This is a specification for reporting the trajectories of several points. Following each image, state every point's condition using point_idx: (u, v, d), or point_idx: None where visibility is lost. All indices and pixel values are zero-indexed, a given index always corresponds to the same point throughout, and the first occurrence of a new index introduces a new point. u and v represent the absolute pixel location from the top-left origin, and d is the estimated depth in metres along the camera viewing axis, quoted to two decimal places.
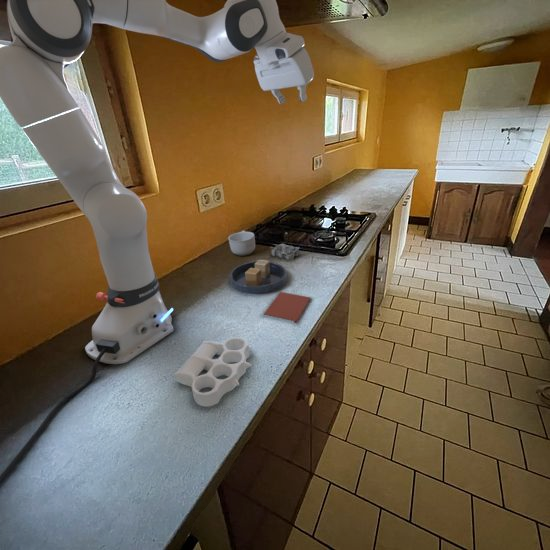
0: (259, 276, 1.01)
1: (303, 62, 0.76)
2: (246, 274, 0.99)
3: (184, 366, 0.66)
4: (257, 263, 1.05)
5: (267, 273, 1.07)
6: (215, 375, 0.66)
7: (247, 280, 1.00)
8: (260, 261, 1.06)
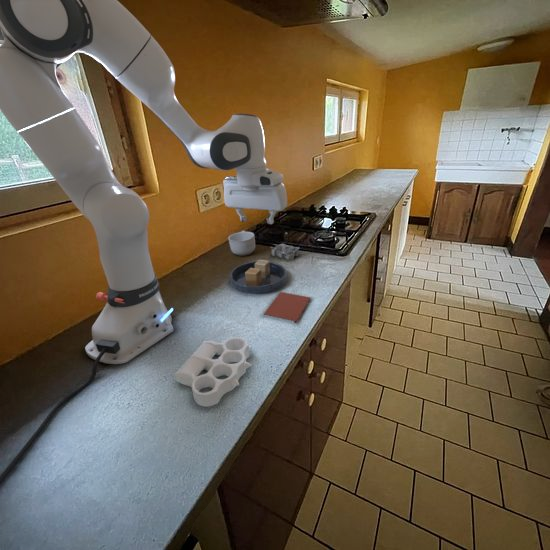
0: (259, 276, 1.01)
1: (282, 193, 0.85)
2: (246, 274, 0.99)
3: (184, 366, 0.66)
4: (257, 263, 1.05)
5: (267, 273, 1.07)
6: (215, 375, 0.66)
7: (247, 280, 1.00)
8: (260, 261, 1.06)
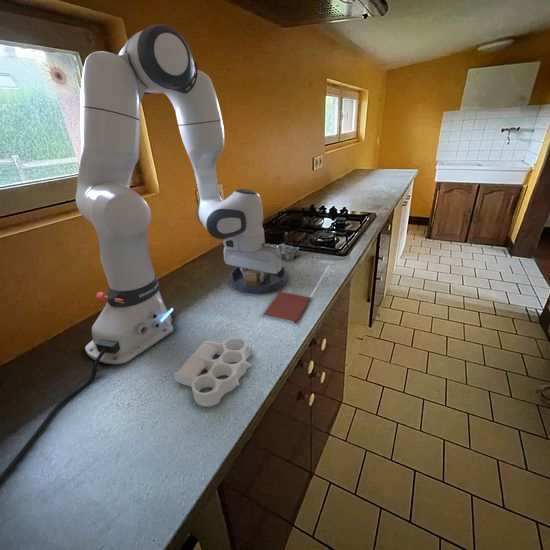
0: None
1: None
2: (246, 274, 0.99)
3: (184, 366, 0.66)
4: None
5: (267, 273, 1.07)
6: (215, 375, 0.66)
7: (247, 280, 1.00)
8: None
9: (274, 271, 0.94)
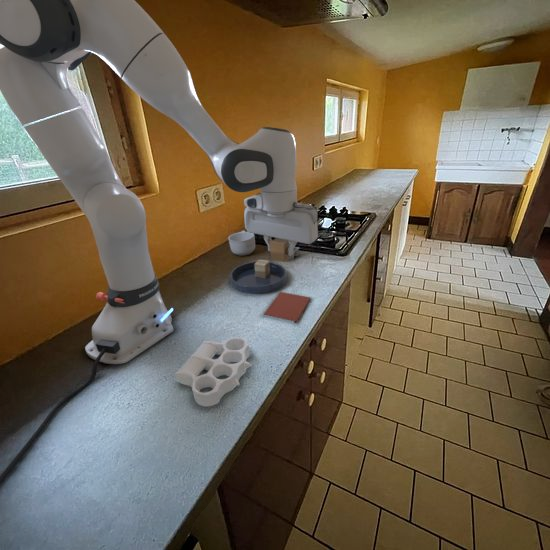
0: None
1: None
2: (271, 244, 0.78)
3: (184, 366, 0.66)
4: (257, 263, 1.05)
5: (267, 273, 1.07)
6: (215, 375, 0.66)
7: (272, 252, 0.79)
8: (260, 261, 1.06)
9: (308, 239, 0.71)
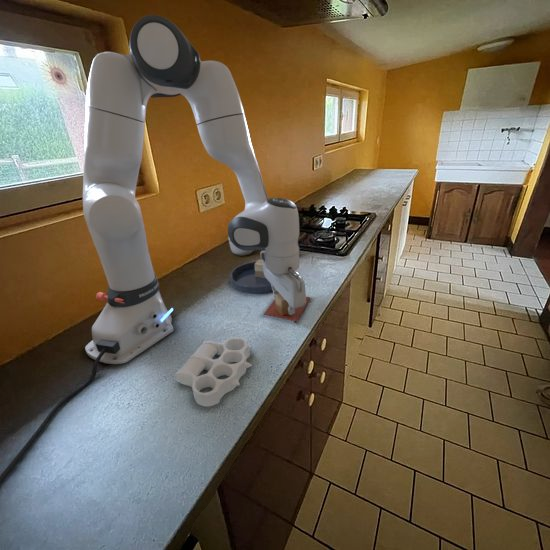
0: None
1: None
2: (275, 296, 0.86)
3: (184, 366, 0.66)
4: (257, 263, 1.05)
5: None
6: (215, 375, 0.66)
7: (276, 303, 0.87)
8: (260, 261, 1.06)
9: (292, 304, 0.75)
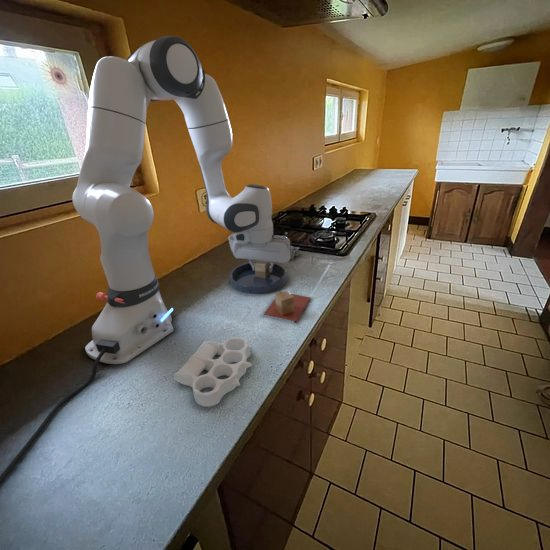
0: (289, 304, 0.85)
1: None
2: (275, 296, 0.86)
3: (184, 366, 0.66)
4: (257, 263, 1.05)
5: (267, 273, 1.07)
6: (216, 375, 0.66)
7: (276, 303, 0.87)
8: (260, 261, 1.06)
9: (285, 260, 1.00)
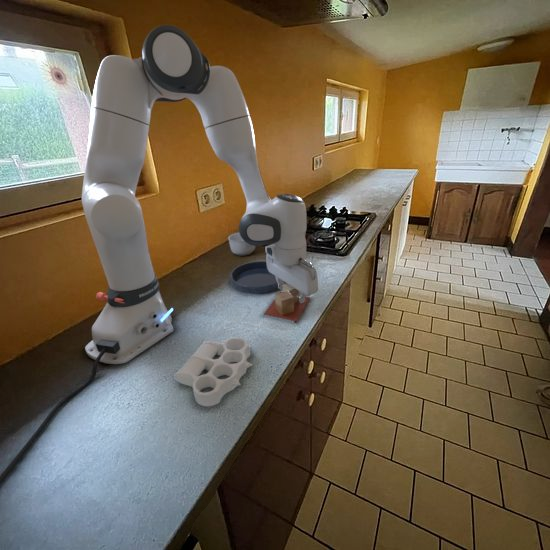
0: (289, 304, 0.85)
1: None
2: (275, 296, 0.86)
3: (185, 366, 0.66)
4: (285, 285, 0.91)
5: (294, 300, 0.90)
6: (216, 375, 0.66)
7: (276, 303, 0.87)
8: None
9: (306, 292, 0.81)
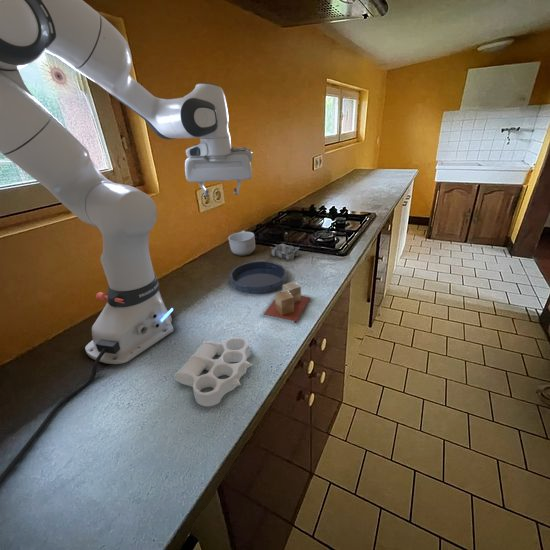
0: (289, 304, 0.85)
1: None
2: (275, 296, 0.86)
3: (185, 366, 0.66)
4: (285, 285, 0.91)
5: (294, 300, 0.90)
6: (216, 375, 0.66)
7: (276, 303, 0.87)
8: (290, 284, 0.91)
9: (249, 175, 0.92)
